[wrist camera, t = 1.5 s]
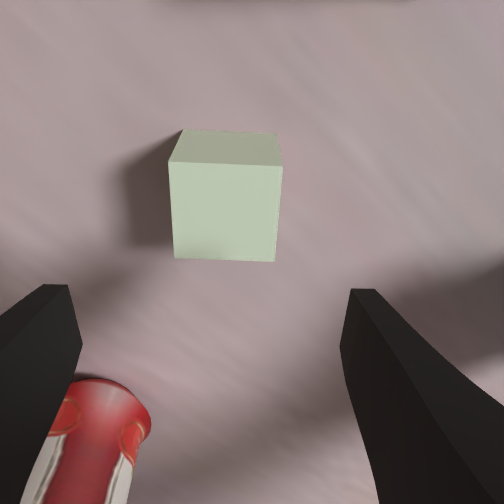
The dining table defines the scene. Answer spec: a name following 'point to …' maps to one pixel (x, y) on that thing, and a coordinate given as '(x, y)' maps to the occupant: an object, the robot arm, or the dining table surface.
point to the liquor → (90, 447)
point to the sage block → (225, 195)
